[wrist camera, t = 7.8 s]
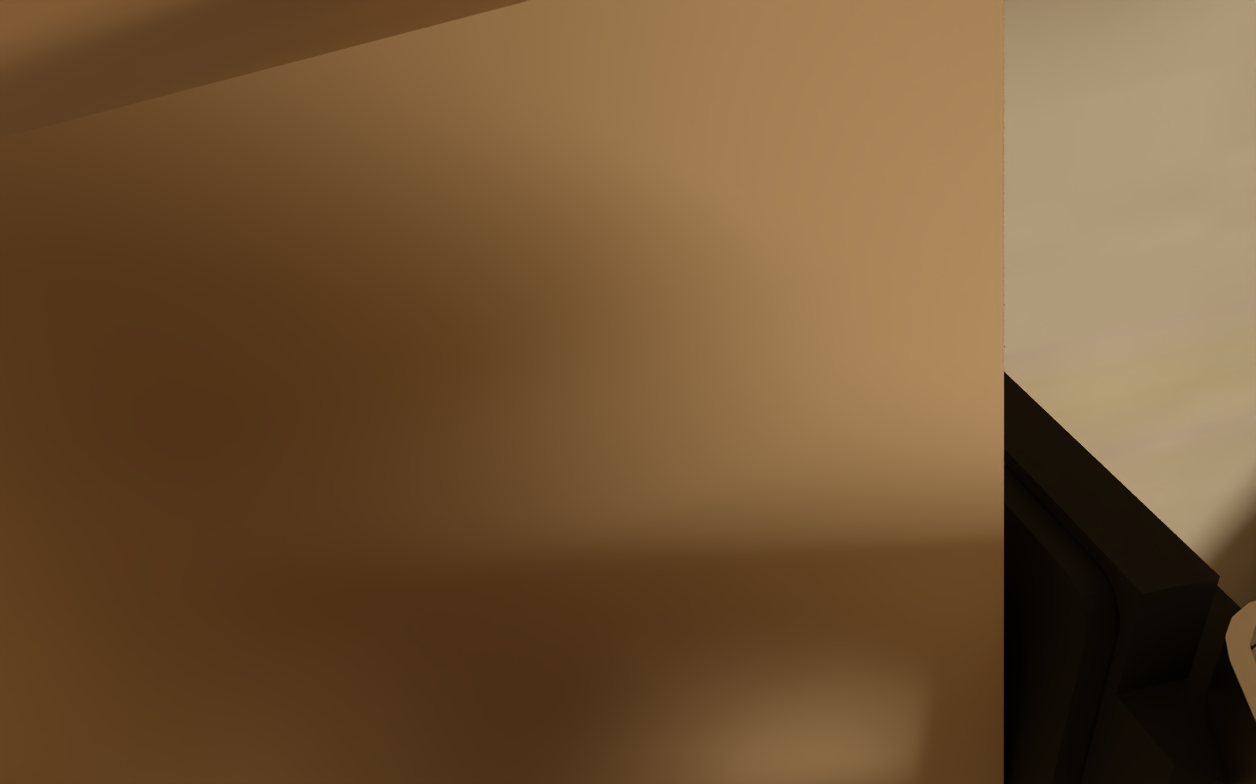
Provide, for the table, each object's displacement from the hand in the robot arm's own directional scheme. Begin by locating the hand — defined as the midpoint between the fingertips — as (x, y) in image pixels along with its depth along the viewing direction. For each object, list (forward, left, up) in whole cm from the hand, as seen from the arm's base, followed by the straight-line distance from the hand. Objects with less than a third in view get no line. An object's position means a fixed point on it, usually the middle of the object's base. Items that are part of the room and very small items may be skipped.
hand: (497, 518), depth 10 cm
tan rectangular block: (0, 0, -1) cm, 1 cm away
